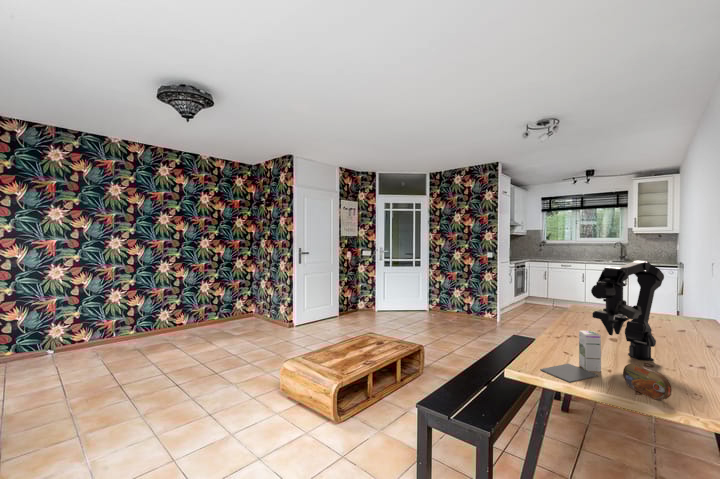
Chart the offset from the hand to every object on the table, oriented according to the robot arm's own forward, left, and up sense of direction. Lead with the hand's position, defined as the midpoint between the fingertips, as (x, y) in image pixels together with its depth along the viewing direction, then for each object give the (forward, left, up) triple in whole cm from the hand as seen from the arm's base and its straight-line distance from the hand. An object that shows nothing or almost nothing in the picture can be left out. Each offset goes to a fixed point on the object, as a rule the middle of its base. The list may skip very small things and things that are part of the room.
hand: (614, 334), depth 136 cm
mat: (+23, +13, -12) cm, 29 cm away
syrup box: (+13, +7, -12) cm, 19 cm away
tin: (+6, +27, -12) cm, 30 cm away
